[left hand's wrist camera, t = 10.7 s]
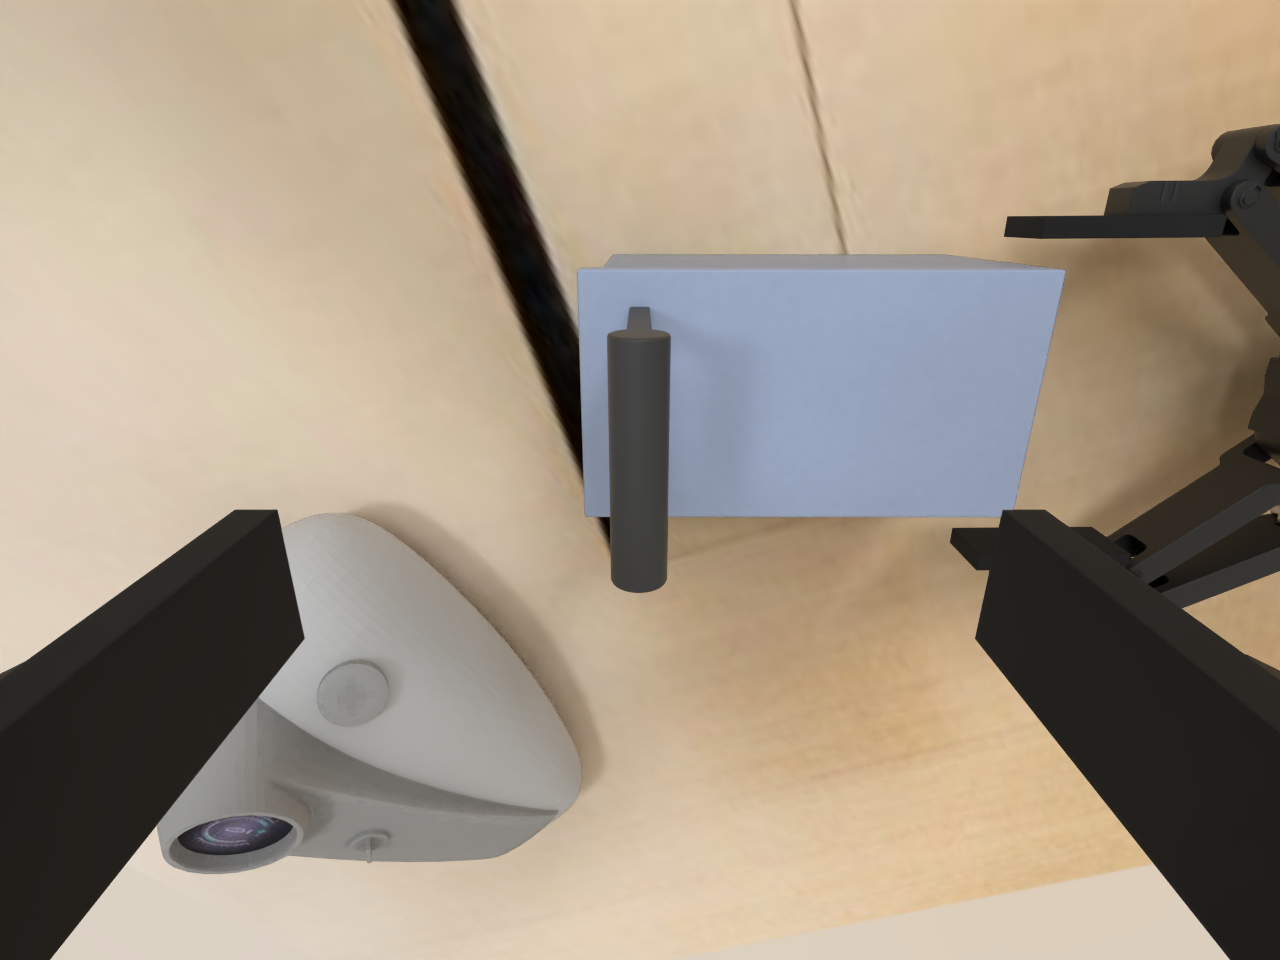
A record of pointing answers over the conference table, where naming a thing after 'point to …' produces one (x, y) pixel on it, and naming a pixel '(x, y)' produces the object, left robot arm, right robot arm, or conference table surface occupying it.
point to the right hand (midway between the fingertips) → (989, 401)
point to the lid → (804, 395)
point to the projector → (378, 726)
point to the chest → (804, 261)
